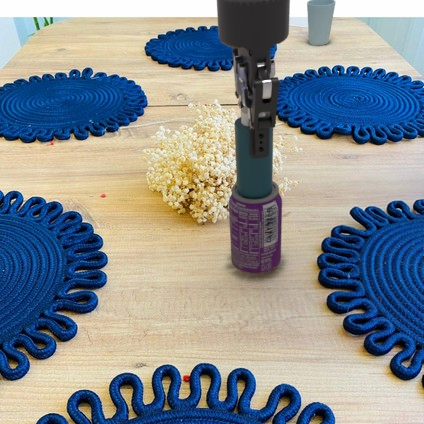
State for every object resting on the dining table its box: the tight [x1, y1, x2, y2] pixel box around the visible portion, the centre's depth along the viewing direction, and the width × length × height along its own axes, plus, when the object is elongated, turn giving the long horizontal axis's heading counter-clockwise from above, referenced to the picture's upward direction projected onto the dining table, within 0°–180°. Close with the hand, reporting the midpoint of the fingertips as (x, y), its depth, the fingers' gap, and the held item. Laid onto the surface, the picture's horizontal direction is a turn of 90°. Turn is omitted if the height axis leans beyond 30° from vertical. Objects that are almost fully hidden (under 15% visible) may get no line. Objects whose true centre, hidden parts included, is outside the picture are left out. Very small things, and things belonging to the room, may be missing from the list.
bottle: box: [234, 107, 274, 198], centre depth 66 cm, size 5×5×10 cm
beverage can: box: [228, 181, 283, 274], centre depth 73 cm, size 7×7×12 cm
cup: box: [306, 0, 336, 46], centre depth 149 cm, size 8×8×10 cm
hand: (254, 146), depth 65 cm, fingers closed on bottle, 4 cm apart
